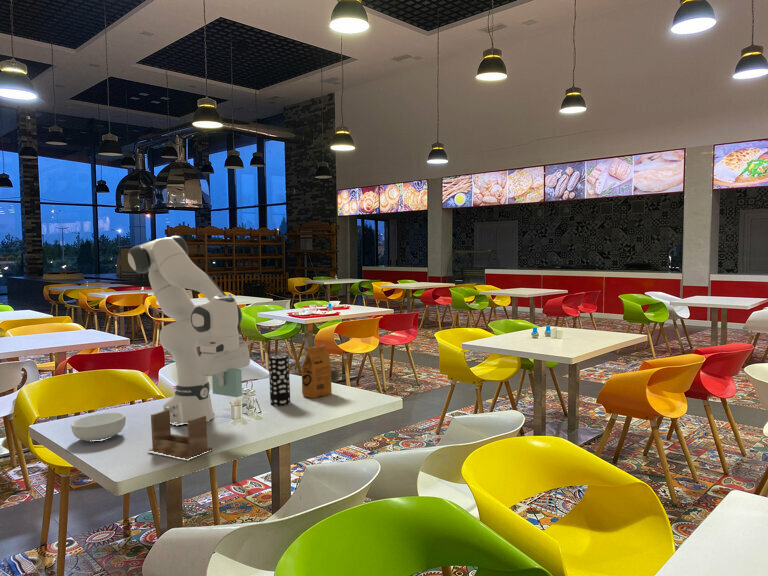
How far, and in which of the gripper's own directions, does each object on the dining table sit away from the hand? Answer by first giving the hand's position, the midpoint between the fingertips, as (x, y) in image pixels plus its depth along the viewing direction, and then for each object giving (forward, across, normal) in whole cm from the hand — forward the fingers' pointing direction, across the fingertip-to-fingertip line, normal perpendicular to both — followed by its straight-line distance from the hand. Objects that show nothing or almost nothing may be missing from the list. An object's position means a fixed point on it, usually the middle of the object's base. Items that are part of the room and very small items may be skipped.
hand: (226, 383), depth 187 cm
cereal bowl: (+20, +18, -43) cm, 51 cm away
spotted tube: (+20, -44, -13) cm, 50 cm away
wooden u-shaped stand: (+19, +16, -5) cm, 26 cm away
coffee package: (+20, -62, -7) cm, 65 cm away
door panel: (+4, 0, 0) cm, 4 cm away
